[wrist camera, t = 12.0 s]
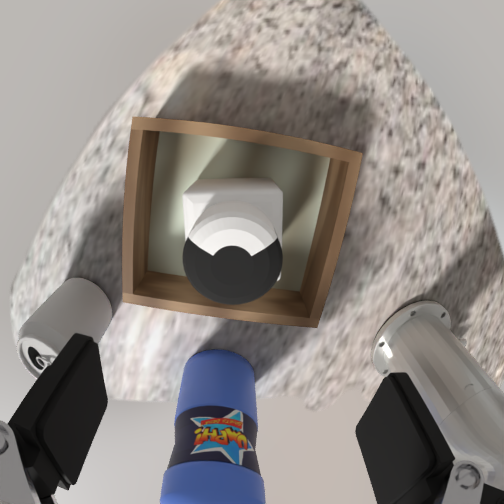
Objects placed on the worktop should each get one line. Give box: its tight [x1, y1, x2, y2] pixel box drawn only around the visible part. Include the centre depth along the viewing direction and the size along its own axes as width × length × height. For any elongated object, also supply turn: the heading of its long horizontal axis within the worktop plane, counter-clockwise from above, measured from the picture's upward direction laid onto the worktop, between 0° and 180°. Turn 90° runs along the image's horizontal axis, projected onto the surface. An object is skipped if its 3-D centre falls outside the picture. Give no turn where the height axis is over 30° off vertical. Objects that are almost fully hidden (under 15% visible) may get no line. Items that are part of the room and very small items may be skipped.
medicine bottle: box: [182, 178, 283, 305], centre depth 23 cm, size 7×7×12 cm
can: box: [17, 278, 112, 379], centre depth 27 cm, size 8×8×12 cm
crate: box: [122, 117, 363, 328], centre depth 27 cm, size 18×16×6 cm
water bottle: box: [160, 349, 265, 504], centre depth 25 cm, size 9×9×25 cm
